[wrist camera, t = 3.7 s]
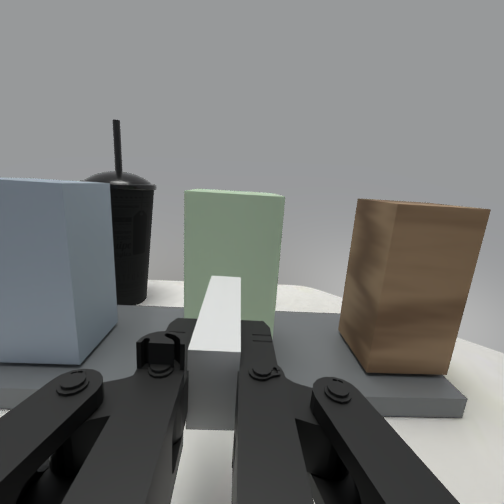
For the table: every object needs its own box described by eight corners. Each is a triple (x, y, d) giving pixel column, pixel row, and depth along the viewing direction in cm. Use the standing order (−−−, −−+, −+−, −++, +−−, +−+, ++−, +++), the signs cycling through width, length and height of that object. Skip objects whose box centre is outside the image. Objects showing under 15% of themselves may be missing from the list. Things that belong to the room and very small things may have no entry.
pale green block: (269, 369, 20) (285, 196, 17) (183, 367, 19) (184, 190, 16) (263, 327, 25) (273, 193, 22) (197, 324, 25) (199, 188, 22)
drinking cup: (160, 285, 38) (157, 130, 33) (156, 310, 31) (151, 117, 26) (98, 287, 36) (86, 122, 31) (79, 314, 29) (59, 106, 24)
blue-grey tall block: (79, 364, 19) (61, 183, 16) (-13, 362, 19) (-48, 176, 16) (117, 321, 25) (109, 183, 22) (48, 319, 24) (30, 178, 21)
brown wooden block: (446, 374, 20) (490, 209, 17) (366, 372, 20) (397, 203, 17) (400, 331, 26) (428, 202, 23) (338, 329, 26) (357, 198, 23)
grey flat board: (461, 417, 19) (467, 399, 18) (-37, 408, 17) (-42, 387, 17) (377, 327, 30) (379, 315, 30) (76, 316, 29) (74, 303, 28)
